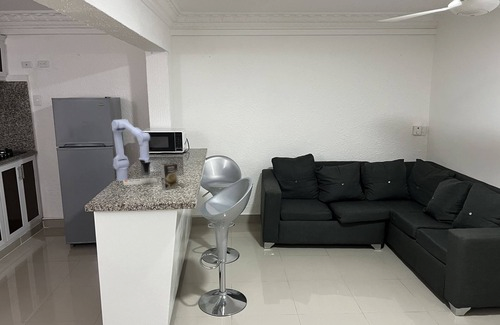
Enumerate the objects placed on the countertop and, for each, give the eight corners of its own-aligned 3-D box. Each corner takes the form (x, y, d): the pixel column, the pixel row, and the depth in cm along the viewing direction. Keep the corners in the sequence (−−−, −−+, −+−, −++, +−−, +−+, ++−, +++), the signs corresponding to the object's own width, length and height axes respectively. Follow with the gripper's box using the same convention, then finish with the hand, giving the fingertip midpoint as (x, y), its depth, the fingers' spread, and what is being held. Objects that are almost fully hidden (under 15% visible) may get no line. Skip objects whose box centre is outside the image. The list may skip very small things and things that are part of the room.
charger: (142, 174, 254) (142, 163, 252) (150, 174, 254) (149, 163, 253) (141, 175, 249) (140, 165, 248) (148, 175, 249) (148, 165, 248)
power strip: (123, 183, 260) (122, 179, 260) (155, 181, 268) (155, 176, 268) (124, 186, 252) (123, 182, 251) (157, 183, 260) (157, 179, 259)
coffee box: (165, 190, 244) (164, 165, 241) (161, 188, 249) (160, 164, 246) (178, 187, 249) (177, 163, 246) (174, 186, 254) (173, 162, 251)
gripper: (136, 150, 253) (137, 169, 256) (139, 153, 240) (141, 174, 243) (147, 149, 256) (148, 168, 259) (151, 152, 243) (152, 173, 246)
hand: (145, 171), depth 251 cm, fingers closed on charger, 6 cm apart
